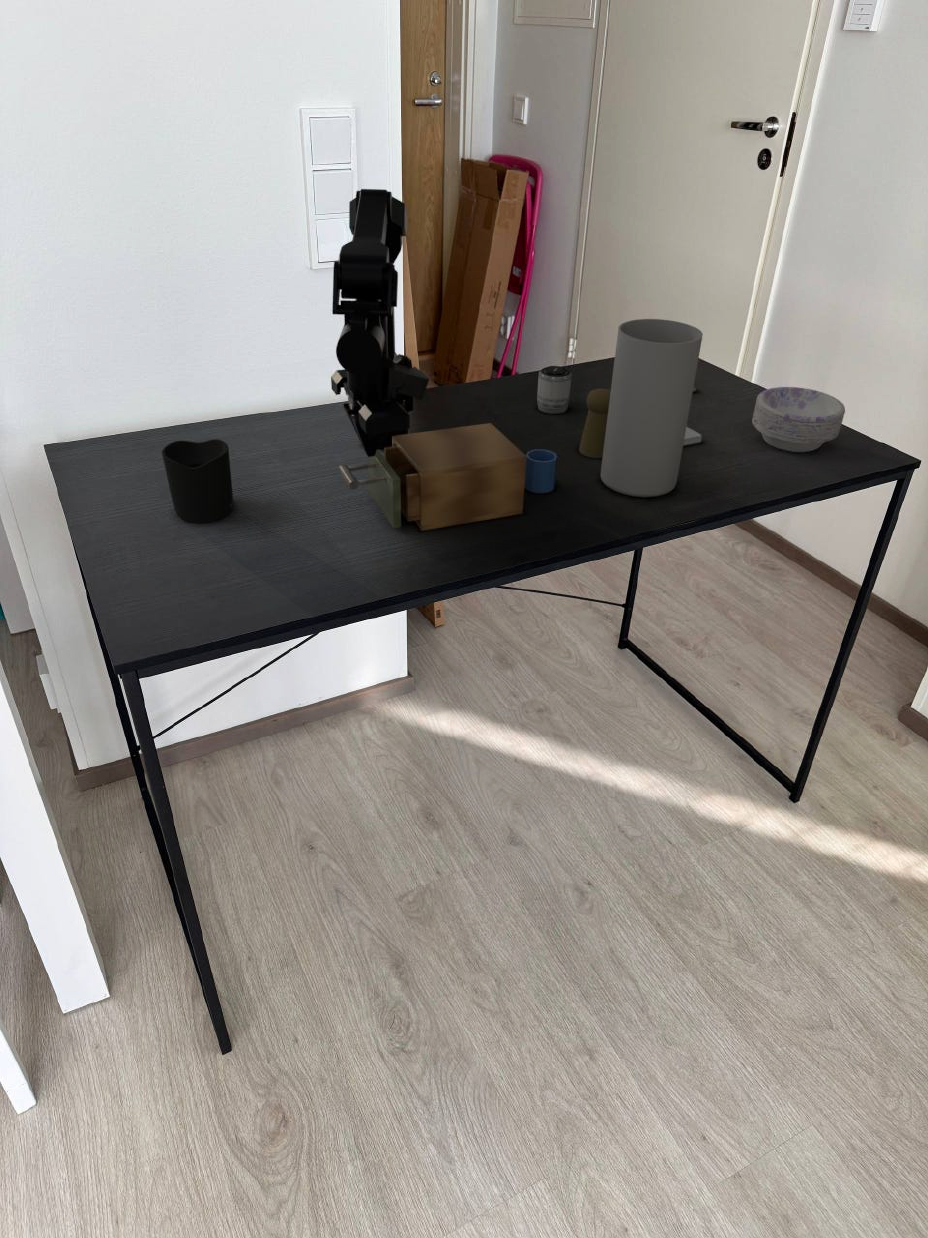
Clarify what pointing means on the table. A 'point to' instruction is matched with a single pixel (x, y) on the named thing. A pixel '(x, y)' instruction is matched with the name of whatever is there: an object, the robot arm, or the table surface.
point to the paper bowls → (797, 418)
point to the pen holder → (199, 479)
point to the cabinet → (465, 474)
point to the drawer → (390, 484)
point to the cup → (540, 471)
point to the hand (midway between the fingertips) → (370, 455)
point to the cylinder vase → (649, 405)
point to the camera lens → (554, 389)
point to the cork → (595, 423)
